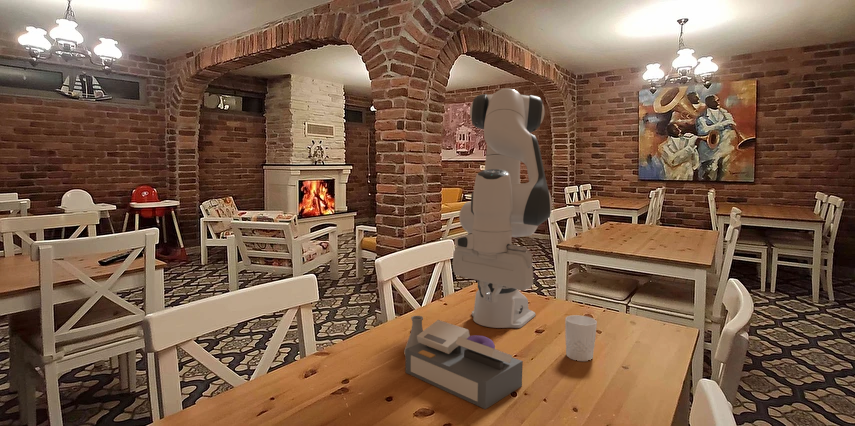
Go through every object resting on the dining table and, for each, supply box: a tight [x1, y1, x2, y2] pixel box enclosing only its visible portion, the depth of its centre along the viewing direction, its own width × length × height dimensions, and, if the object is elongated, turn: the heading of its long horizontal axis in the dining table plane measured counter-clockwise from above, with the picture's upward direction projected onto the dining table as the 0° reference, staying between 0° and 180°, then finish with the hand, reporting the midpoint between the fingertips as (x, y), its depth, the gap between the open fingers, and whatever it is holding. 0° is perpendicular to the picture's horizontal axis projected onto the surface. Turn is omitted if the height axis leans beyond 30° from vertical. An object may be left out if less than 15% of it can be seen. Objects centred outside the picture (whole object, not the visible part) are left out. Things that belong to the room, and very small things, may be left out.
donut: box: [467, 334, 496, 349], centre depth 124 cm, size 10×9×5 cm
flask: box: [403, 315, 424, 357], centre depth 123 cm, size 7×7×10 cm
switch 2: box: [456, 336, 513, 363], centre depth 104 cm, size 8×10×2 cm
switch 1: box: [417, 319, 471, 354], centre depth 112 cm, size 8×10×2 cm
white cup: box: [564, 314, 598, 362], centre depth 122 cm, size 8×8×10 cm
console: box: [405, 343, 524, 410], centre depth 108 cm, size 14×24×8 cm, turn 46°
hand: (490, 300), depth 106 cm, fingers closed
